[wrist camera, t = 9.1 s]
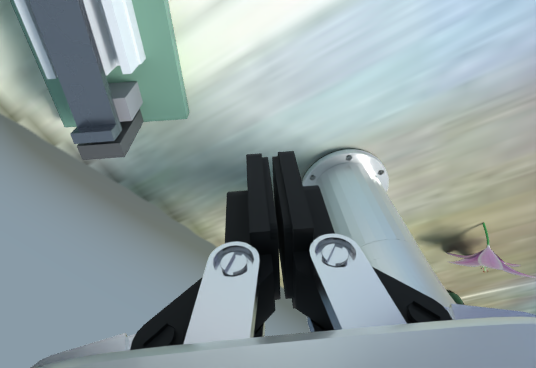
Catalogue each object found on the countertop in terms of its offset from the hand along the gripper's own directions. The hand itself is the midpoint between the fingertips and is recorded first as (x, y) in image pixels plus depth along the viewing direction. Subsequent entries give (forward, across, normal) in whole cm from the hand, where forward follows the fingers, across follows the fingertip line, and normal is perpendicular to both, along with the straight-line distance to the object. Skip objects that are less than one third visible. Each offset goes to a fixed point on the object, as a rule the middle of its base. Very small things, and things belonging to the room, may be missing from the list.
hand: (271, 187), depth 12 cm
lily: (+29, -35, +36) cm, 58 cm away
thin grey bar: (+22, +15, -3) cm, 27 cm away
